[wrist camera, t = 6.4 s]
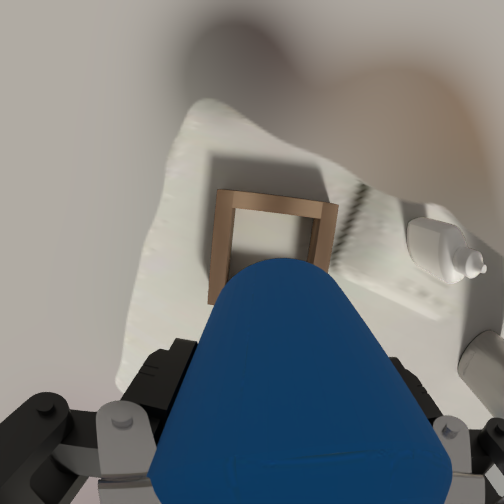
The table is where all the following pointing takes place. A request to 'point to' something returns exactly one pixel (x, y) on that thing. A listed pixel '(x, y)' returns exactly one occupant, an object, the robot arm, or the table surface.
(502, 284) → the table surface
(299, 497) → the beverage can
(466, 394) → the table surface
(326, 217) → the walnut collar
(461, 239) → the eye dropper bottle
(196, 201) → the table surface
